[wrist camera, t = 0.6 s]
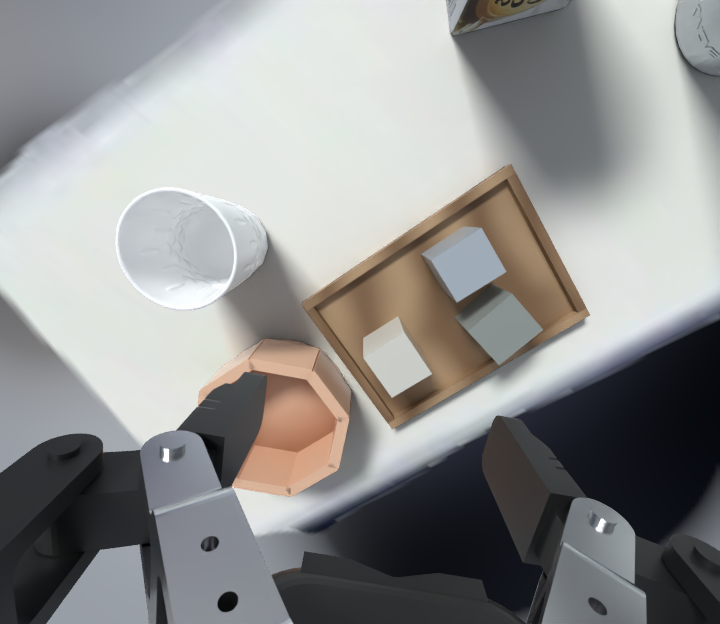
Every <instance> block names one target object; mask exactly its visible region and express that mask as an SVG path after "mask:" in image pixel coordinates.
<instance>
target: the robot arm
mask: <svg viewBox="0 0 720 624" xmlns="http://www.w3.org/2000/svg"><path fill="white" fill-rule="evenodd" d="M675 22H676V36H677V40H678V44H679V47H680V49H681V51H682V53H683V55H684V57H685V58H686V59H687V60H688V61H689V62H690V64H691V65H692V66H694V67H695V68H697V69H698V70H700V71H702V72H704V73H707V74H711V75H720V0H679V2H678V6H677V13H676V20H675ZM266 387H267V376H266V375H262V374H256V373H250V372H244V373H243V374H242V375H241V377H240V378H239V379H238V380H237V382H236V383H235V384H228V383H225V384H223V385H221V386H219V387H217V388H215V389H213V390H212V391H211V392H210V393H209V394H208V395H207V397H206V398H205V400H203V401H202V402H201V403H200V404H199V406H198V407H197V408H196V409H195V410H194V411H193V412H192V413H191V414H190V416H189V417H188V418H187V419H186V420H185V421H184V422H183V423H182V424H181V426H180V427H179V428H178V429H177V430H176V431H169V432H165V433H161V434H159V435H156V436H154V437H153V438H151V439H149V440H148V441H147V442H146V443H145V444H144V445H143V446H142V448H141V450H136V451H122V452H105V453H103V443H102V441H101V440H100V439H99V438H98V437H96V436H93V435H90V434H69V435H64V436H60V437H56V438H53V439H50V440H48V441H45V442H43V443H41V444H39V445H38V446H36V447H35V448H33V449H32V450H30V451H29V452H28V453H26V454H25V455H24V456H22V457H21V458H20V459H19V460H17V461H16V462H15V463H13V464H12V465H11V466H9V467H8V468H7V469H5V470H4V471H3V472H1V473H0V624H46V623H47V622H48V620H49V619H50V618H51V616H52V615H53V614H54V612H55V611H56V609H57V608H58V607H59V605H60V604H61V602H62V601H63V600H64V598H65V597H66V596H67V594H68V593H69V592H70V590H71V589H72V587H73V586H74V585H75V583H76V582H77V581H78V579H79V578H80V577H81V575H82V574H83V572H84V571H85V570H86V568H87V567H88V565H89V564H90V563H91V561H92V560H93V559H94V557H95V556H96V554H97V553H98V552H99V550H101V549H109V548H117V547H124V546H131V545H138V544H140V554H141V561H142V570H143V578H144V585H145V594H146V602H147V610H148V620H149V624H720V551H718V550H717V549H715V548H714V547H712V546H710V545H709V544H707V543H705V542H703V541H701V540H699V539H697V538H694V537H691V536H688V535H684V534H675V535H673V536H672V537H671V538H670V540H669V542H668V544H667V546H666V548H665V547H663V546H660V545H658V544H655V543H652V542H650V541H647V540H645V539H642V538H639V537H637V536H635V534H634V531H633V529H632V528H631V526H630V525H629V524H628V522H627V521H626V520H625V519H624V518H623V517H622V516H620V515H619V514H618V513H617V512H615V511H614V510H612V509H611V508H609V507H608V506H606V505H604V504H602V503H600V502H598V501H595V500H592V499H589V498H587V497H586V496H585V495H584V493H583V492H582V491H581V489H580V488H579V487H578V485H577V484H576V483H575V481H574V480H573V479H572V478H571V476H570V475H569V474H568V473H567V471H566V470H564V467H563V466H562V465H561V463H560V462H559V461H557V458H556V457H555V455H554V454H553V453H552V451H551V450H550V449H549V448H548V447H547V446H546V445H545V444H544V443H542V442H541V441H540V440H539V439H537V438H536V437H535V436H533V435H532V434H531V433H530V431H529V430H528V429H527V427H526V426H525V425H524V423H523V422H522V421H521V420H520V419H515V418H509V417H504V416H496V417H495V419H494V420H493V423H492V426H491V429H490V433H489V436H488V439H487V442H486V445H485V448H484V451H483V456H482V468H483V472H484V475H485V477H486V479H487V482H488V484H489V486H490V489H491V491H492V493H493V495H494V498H495V500H496V502H497V504H498V507H499V509H500V511H501V513H502V516H503V518H504V520H505V523H506V525H507V527H508V530H509V532H510V534H511V536H512V539H513V541H514V543H515V545H516V548H517V550H518V552H519V555H520V557H521V559H522V561H523V563H529V564H535V565H541V566H542V568H543V570H544V571H543V573H542V576H541V578H540V580H539V583H538V587H537V590H536V593H535V596H534V599H533V603H532V606H531V609H530V612H529V615H528V619H527V622H526V623H525V622H523V621H522V620H521V619H520V618H518V617H517V616H516V615H515V614H513V613H512V612H510V611H509V610H507V609H506V608H504V607H503V606H501V605H499V604H497V603H495V602H494V601H492V600H489V599H487V596H486V593H485V590H484V586H483V583H482V580H478V579H471V578H466V577H460V576H453V575H447V574H441V573H435V574H426V575H417V576H408V577H399V578H396V577H391V576H388V575H386V574H383V573H381V572H379V571H376V570H374V569H371V568H369V567H367V566H365V565H362V564H360V563H358V562H355V561H353V560H351V559H348V558H341V557H336V556H330V555H324V554H317V553H311V552H304V557H303V562H302V567H301V568H293V569H289V570H284V571H281V572H278V573H275V574H273V575H271V574H270V571H269V569H268V567H267V564H266V562H265V560H264V558H263V555H262V553H261V551H260V548H259V546H258V544H257V542H256V539H255V537H254V535H253V532H252V530H251V528H250V525H249V523H248V521H247V518H246V516H245V514H244V512H243V509H242V507H241V505H240V502H239V500H238V498H237V496H236V493H235V491H234V489H233V488H232V487H231V486H232V484H233V482H234V481H235V479H236V477H237V475H238V473H239V471H240V469H241V467H242V465H243V463H244V461H245V459H246V457H247V455H248V453H249V451H250V449H251V447H252V445H253V443H254V441H255V439H256V437H257V435H258V433H259V431H260V428H261V424H262V420H263V413H264V405H265V396H266Z"/></svg>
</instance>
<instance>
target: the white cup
mask: <svg viewBox="0 0 720 624" xmlns="http://www.w3.org/2000/svg"><path fill="white" fill-rule="evenodd" d="M115 242H116V252H117V257H118V260H119V263H120V266H121V268H122V270H123V272H124V274H125V276H126V277H127V279H128V280H129V282H130V283H131V284H132V285H133V286H134V288H135V289H136V290H137V291H138V292H140V293H141V294H142V295H143V296H144V297H146V298H147V299H149V300H150V301H152V302H154V303H156V304H158V305H160V306H163V307H166V308H169V309H174V310H195V309H200V308H203V307H206V306H208V305H210V304H212V303H214V302H215V301H217V300H218V299H219V298H221V297H222V296H224V295H225V294H227V293H228V292H229V291H231V290H232V289H234V288H235V287H237V286H238V285H240V284H241V283H242V282H243V281H245V280H246V279H247V278H248V277H249V276H251V275H252V274H253V273H254V272H255V271H256V270H257V269H258V268H259V267H260V266H261V265H262V264H263V262H264V259H265V256H266V253H267V249H268V244H267V236H266V231H265V229H264V227H263V226H262V224H261V222H260V221H259V219H258V218H257V216H256V215H254V214H253V213H251V212H250V211H248V210H247V209H245V208H244V207H242V206H240V205H235V204H233V203H231V202H228V201H225V200H222V199H219V198H216V197H212V196H208V195H204V194H200V193H196V192H192V191H188V190H184V189H180V188H171V187H166V188H158V189H153V190H150V191H147V192H145V193H143V194H141V195H140V196H138V197H137V198H135V199H134V200H133V201H132V202H131V203H130V204H129V205H128V206H127V207H126V209H125V210H124V212H123V213H122V215H121V217H120V220H119V222H118V226H117V230H116V239H115Z"/></svg>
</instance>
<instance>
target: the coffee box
mask: <svg viewBox="0 0 720 624" xmlns="http://www.w3.org/2000/svg"><path fill="white" fill-rule="evenodd" d="M570 1H571V0H446V2H447V10H448V18H449V27H450V33H451V34H452V35H459V34H463V33H467V32H471V31H475V30H479V29H483V28H486V27H490V26H494V25H498V24H502V23H506V22H510V21H514V20H518V19H522V18H526V17H530V16H534V15H538V14H541V13H545V12H549V11H553V10H557V9H562V8H564V7H565V6H566V5H567V4H568V3H569V2H570Z"/></svg>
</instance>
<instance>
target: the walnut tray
mask: <svg viewBox="0 0 720 624" xmlns="http://www.w3.org/2000/svg"><path fill="white" fill-rule="evenodd" d="M463 226H465V227H478V228H482V230H483V231H484V233H485V235H486V237H487V238H488V240H489V242H490V244H491V245H492V247H493V249H494V251H495V253H496V254H497V256H498V258H499V260H500V261H501V263H502V265H503V267H504V268H505V270H506V272H505V273H504V274H502V275H501V276H499V277H497V278H496V279H494V280H493V281H491V282H489V283H488V284H486V285H484V286H483V287H481V288H480V289H478V290H476V291H475V292H473V293H472V294H470V295H468V296H467V297H465V298H463V299H462V300H460V301H459V302H456V301H455V300H454V299H452V298H451V297H450V296H449V295H448V294H447V293H446V292H445V291H443V289H442V288H441V286H440V284H439V283H438V281H437V280H436V278H435V276H434V275H433V273H432V271H431V270H430V268H429V267H428V265H427V263H426V262H425V260H424V259H423V257H422V255H421V254H422V253H423V252H425V251H426V250H428V249H429V248H431V247H432V246H434V245H435V244H437V243H439V242H440V241H442V240H443V239H445V238H446V237H448V236H449V235H451V234H452V233H454V232H455V231H457V230H458V229H460V228H461V227H463ZM492 284H494V285H496V286H498V287H500V288H502V289H504V290H506V291H508V292H510V293H512V294H513V295H514V297H515V298H516V299H517V300H518V301H519V302H520V303H521V305H522V306H523V307H524V308H525V309H526V310H527V312H528V313H529V314H530V315H531V316H532V317H533V318H534V320H535V321H536V322H537V323H538V324H539V325H540V326H541V328H542V329H543V330H542V331H541V332H540V333H539V334H537V335H536V336H535V337H534V338H532V339H531V340H530V341H529V342H528V343H526V344H525V345H524V346H523V347H521V348H520V349H519V350H518V351H516V352H515V353H514V354H513V355H511V356H510V357H509V358H508V359H506V360H505V361H504V362H503V363H501V364H500V365H498V364H497V363H496V361H495V360H494V359H493V358H492V357H491V356H490V355H489V354H488V353H487V352H486V351H485V350H484V349H483V347H482V346H481V345H480V344H479V343H478V342H477V341H476V340H475V339H474V338H473V337H472V336H471V335H470V333H469V332H468V331H467V330H466V329H465V328H464V327H463V326H462V325H461V324H460V323H459V322H458V320H457V319H456V318H455V316H456V315H457V314H458V313H460V312H461V311H462V310H463V309H464V308H465V307H466V306H468V305H469V304H470V303H471V302H472V301H473V300H475V299H476V298H477V297H478V296H479V295H480V294H482V293H483V292H484V291H485V290H486V289H487V288H489V287H490V286H491V285H492ZM301 305H302V307H303V308H304V309H305V311H306V312H307V313H308V315H309V316H310V317H311V319H312V320H313V322H314V323H315V324H316V326H317V327H318V328H319V330H320V331H321V333H322V334H323V335H324V337H325V338H326V339H327V341H328V342H329V343H330V345H331V346H332V348H333V349H334V350H335V352H336V353H337V354H338V356H339V357H340V359H341V360H342V361H343V363H344V364H345V365H346V367H347V368H348V369H349V371H350V372H351V374H352V375H353V376H354V378H355V379H356V380H357V382H358V383H359V384H360V386H361V387H362V389H363V390H364V391H365V393H366V394H367V395H368V397H369V398H370V400H371V401H372V402H373V404H374V405H375V406H376V408H377V409H378V410H379V412H380V413H381V415H382V416H383V417H384V419H385V420H386V421H387V423H388V424H389V425H390V427H391V428H392V429H394V428H395V427H397V426H399V425H401V424H402V423H404V422H406V421H407V420H409V419H411V418H413V417H414V416H416V415H418V414H420V413H421V412H423V411H425V410H427V409H428V408H430V407H432V406H433V405H435V404H437V403H439V402H440V401H442V400H444V399H446V398H447V397H449V396H451V395H453V394H454V393H456V392H458V391H459V390H461V389H463V388H465V387H466V386H468V385H470V384H472V383H473V382H475V381H477V380H479V379H480V378H482V377H484V376H485V375H487V374H489V373H491V372H492V371H494V370H496V369H498V368H499V367H501V366H503V365H505V364H506V363H508V362H510V361H512V360H513V359H515V358H517V357H518V356H520V355H522V354H524V353H525V352H527V351H529V350H531V349H532V348H534V347H536V346H538V345H539V344H541V343H543V342H544V341H546V340H548V339H550V338H551V337H553V336H555V335H557V334H558V333H560V332H562V331H564V330H565V329H567V328H569V327H570V326H572V325H574V324H576V323H577V322H579V321H581V320H583V319H584V318H586V317H588V316H590V314H589V312H588V310H587V308H586V306H585V304H584V302H583V301H582V299H581V297H580V295H579V293H578V291H577V289H576V287H575V285H574V283H573V281H572V280H571V278H570V276H569V274H568V272H567V270H566V268H565V266H564V264H563V262H562V260H561V259H560V257H559V255H558V253H557V251H556V249H555V247H554V245H553V243H552V241H551V239H550V238H549V236H548V234H547V232H546V230H545V228H544V226H543V224H542V222H541V220H540V218H539V217H538V215H537V213H536V211H535V209H534V207H533V205H532V203H531V201H530V199H529V197H528V196H527V194H526V192H525V190H524V188H523V186H522V184H521V182H520V180H519V178H518V176H517V175H516V173H515V171H514V169H513V167H512V165H511V164H510V165H508V166H505V167H503V168H502V169H500V170H499V171H497V172H496V173H494V174H493V175H491V176H490V177H488V178H487V179H485V180H484V181H482V182H481V183H479V184H478V185H476V186H475V187H473V188H472V189H470V190H469V191H467V192H466V193H464V194H463V195H461V196H460V197H458V198H457V199H455V200H454V201H452V202H451V203H449V204H448V205H447V206H445V207H444V208H442V209H441V210H439V211H438V212H436V213H435V214H433V215H432V216H430V217H429V218H427V219H426V220H424V221H423V222H421V223H420V224H418V225H417V226H415V227H414V228H412V229H411V230H409V231H408V232H406V233H405V234H403V235H402V236H400V237H399V238H397V239H396V240H394V241H393V242H391V243H390V244H388V245H387V246H385V247H384V248H382V249H381V250H379V251H378V252H376V253H375V254H373V255H372V256H370V257H369V258H367V259H366V260H364V261H363V262H361V263H360V264H358V265H357V266H355V267H354V268H353V269H351V270H350V271H348V272H347V273H345V274H344V275H342V276H341V277H339V278H338V279H336V280H335V281H333V282H332V283H330V284H329V285H327V286H326V287H324V288H323V289H321V290H320V291H318V292H317V293H315V294H314V295H312V296H311V297H309V298H308V299H306V300H305V301H303V303H302V304H301ZM398 316H399V318H400V319H401V321H402V322H403V324H404V325H405V327H406V328H407V330H408V331H409V333H410V334H411V336H412V337H413V339H414V340H415V342H416V343H417V345H418V346H419V348H420V349H421V351H422V353H423V355H424V357H425V359H426V362H427V364H428V366H429V368H430V370H431V373H432V374H431V375H430V376H428V377H426V378H425V379H423V380H421V381H419V382H418V383H416V384H414V385H413V386H411V387H409V388H408V389H406V390H404V391H403V392H401V393H399V394H398V395H396V396H394V397H391V396H390V395H389V393H388V392H387V390H386V389H385V388H384V386H383V385H382V383H381V382H380V381H379V379H378V378H377V376H376V375H375V374H374V372H373V371H372V369H371V368H370V367H369V365H368V364H367V362H366V361H365V360H364V358H363V338H364V337H366V336H367V335H369V334H371V333H372V332H374V331H375V330H377V329H379V328H380V327H382V326H383V325H385V324H386V323H388V322H390V321H391V320H393V319H394V318H396V317H398Z"/></svg>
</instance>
